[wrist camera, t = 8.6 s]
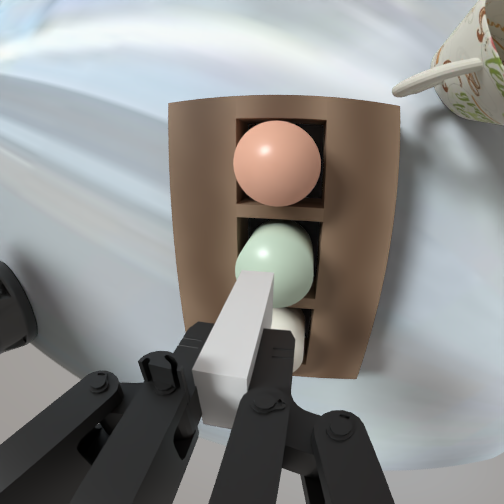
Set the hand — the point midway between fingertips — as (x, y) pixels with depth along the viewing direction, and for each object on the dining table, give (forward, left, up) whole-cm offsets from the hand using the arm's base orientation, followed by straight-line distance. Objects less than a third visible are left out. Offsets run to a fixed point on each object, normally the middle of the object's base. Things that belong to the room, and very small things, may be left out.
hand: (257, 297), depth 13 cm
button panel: (0, 0, -8) cm, 8 cm away
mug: (+12, +13, -9) cm, 20 cm away
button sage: (0, 0, -7) cm, 7 cm away
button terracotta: (0, +6, -7) cm, 9 cm away
